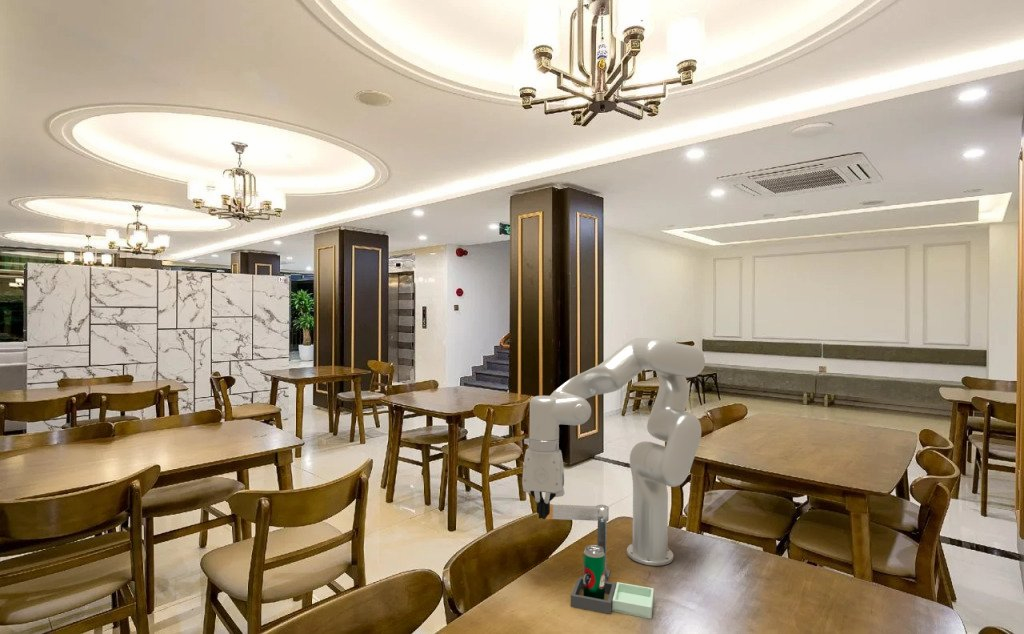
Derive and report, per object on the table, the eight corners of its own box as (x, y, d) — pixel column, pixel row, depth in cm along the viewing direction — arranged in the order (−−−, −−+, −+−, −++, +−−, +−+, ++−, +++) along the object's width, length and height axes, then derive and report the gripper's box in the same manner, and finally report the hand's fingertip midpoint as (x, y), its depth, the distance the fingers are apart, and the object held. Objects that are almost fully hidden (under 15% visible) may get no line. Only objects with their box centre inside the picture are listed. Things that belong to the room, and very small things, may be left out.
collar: (578, 586, 124) (578, 576, 124) (615, 593, 121) (616, 583, 121) (570, 606, 115) (570, 595, 115) (610, 614, 112) (610, 603, 112)
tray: (617, 592, 121) (617, 582, 121) (653, 599, 118) (653, 588, 118) (612, 611, 113) (612, 600, 113) (651, 618, 110) (651, 607, 110)
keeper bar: (607, 517, 131) (607, 504, 131) (609, 522, 128) (609, 509, 128) (543, 514, 132) (543, 502, 132) (543, 519, 129) (543, 507, 129)
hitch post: (595, 571, 131) (596, 517, 132) (609, 573, 130) (610, 519, 130) (590, 588, 123) (590, 529, 123) (604, 590, 122) (605, 532, 122)
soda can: (604, 607, 115) (605, 554, 115) (582, 604, 116) (582, 552, 116) (605, 595, 120) (605, 545, 120) (583, 593, 121) (584, 543, 121)
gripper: (511, 445, 127) (510, 518, 127) (569, 451, 122) (568, 526, 122) (520, 439, 134) (519, 508, 134) (575, 444, 129) (575, 515, 129)
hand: (543, 516), depth 128 cm, fingers closed
